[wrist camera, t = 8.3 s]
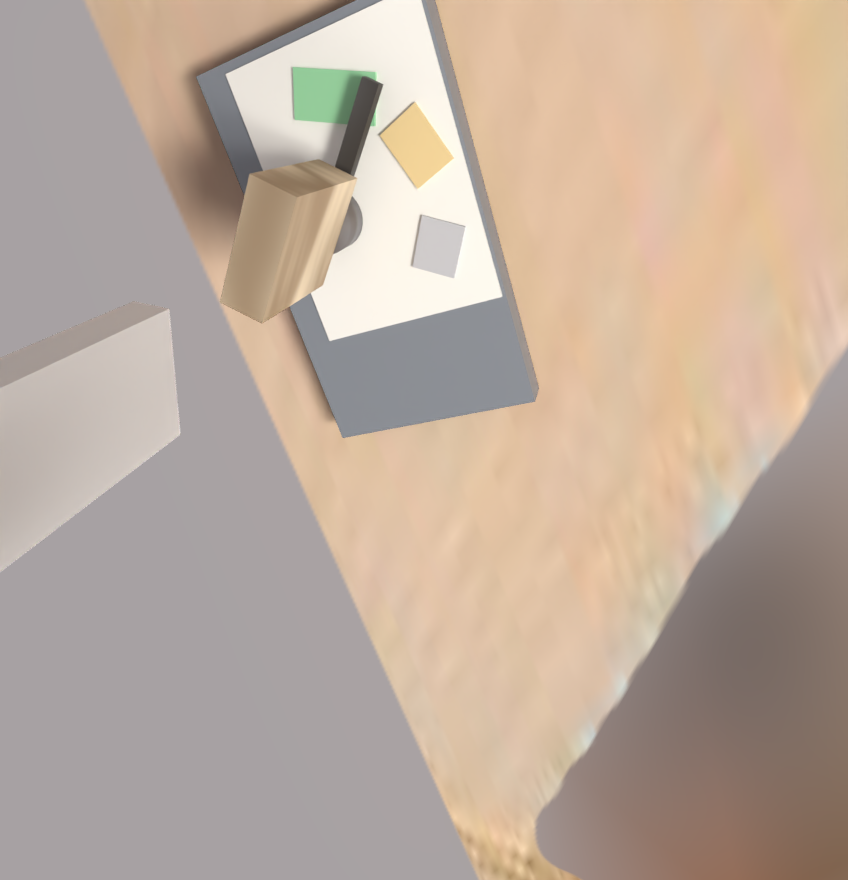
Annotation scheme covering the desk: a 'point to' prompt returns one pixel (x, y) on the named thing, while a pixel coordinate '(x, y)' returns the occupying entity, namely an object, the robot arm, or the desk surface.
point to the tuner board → (386, 216)
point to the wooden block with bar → (297, 222)
